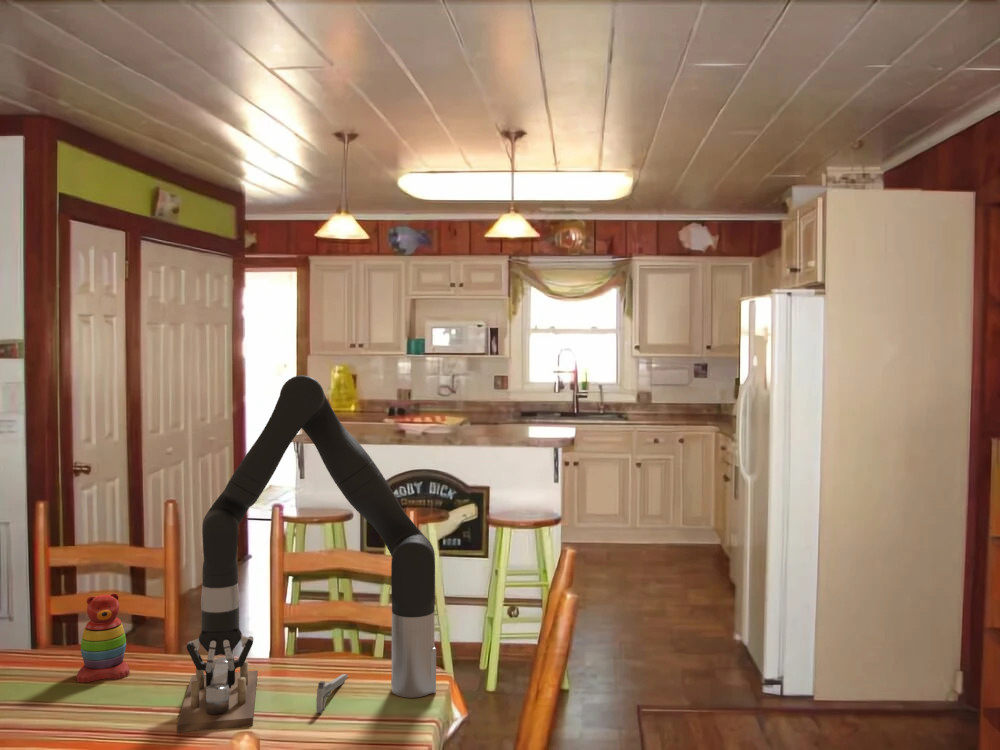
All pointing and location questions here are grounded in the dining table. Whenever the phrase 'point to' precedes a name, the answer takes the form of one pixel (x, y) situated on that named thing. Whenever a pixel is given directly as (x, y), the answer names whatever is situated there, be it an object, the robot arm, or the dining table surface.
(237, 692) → the board
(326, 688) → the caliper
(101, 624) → the stacking bear
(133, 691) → the dining table surface
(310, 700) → the dining table surface
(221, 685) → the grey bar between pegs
